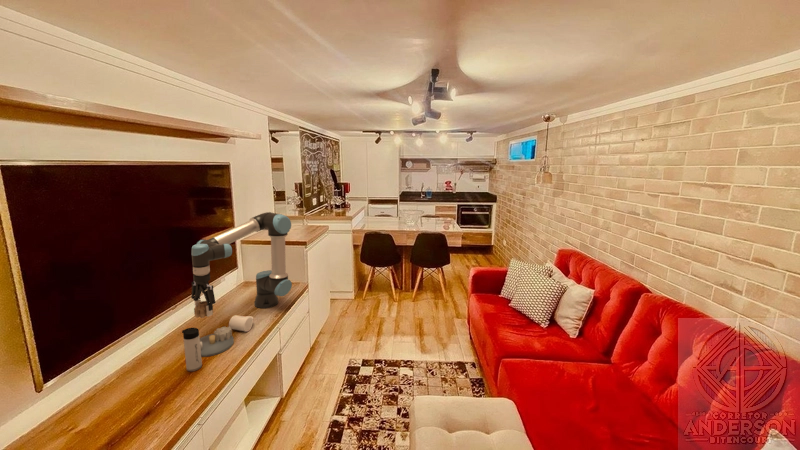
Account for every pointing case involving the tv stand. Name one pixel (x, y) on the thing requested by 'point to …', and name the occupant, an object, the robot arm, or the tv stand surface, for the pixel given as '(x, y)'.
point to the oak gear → (201, 309)
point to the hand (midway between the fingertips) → (204, 313)
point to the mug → (241, 323)
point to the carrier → (216, 342)
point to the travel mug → (192, 349)
